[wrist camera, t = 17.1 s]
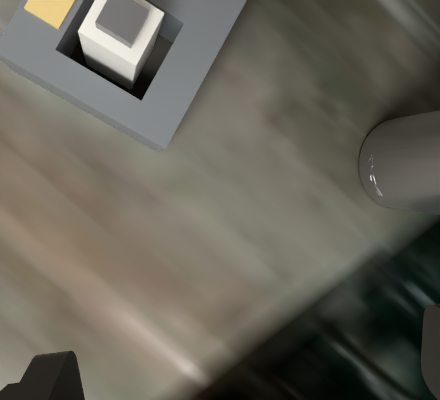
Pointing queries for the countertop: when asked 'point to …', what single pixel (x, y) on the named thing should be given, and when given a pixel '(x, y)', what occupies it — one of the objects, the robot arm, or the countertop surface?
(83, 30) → the plug
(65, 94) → the socket block
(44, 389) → the robot arm
